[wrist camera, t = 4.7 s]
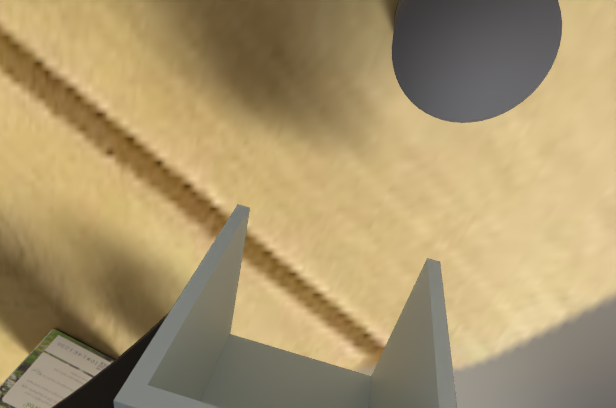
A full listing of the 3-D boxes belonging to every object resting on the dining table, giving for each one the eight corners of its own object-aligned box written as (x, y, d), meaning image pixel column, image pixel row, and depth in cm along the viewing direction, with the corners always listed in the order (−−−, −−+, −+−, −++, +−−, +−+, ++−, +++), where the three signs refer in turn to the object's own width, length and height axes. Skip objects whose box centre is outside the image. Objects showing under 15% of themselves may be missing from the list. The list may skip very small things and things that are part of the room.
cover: (219, 337, 15) (125, 540, 10) (237, 204, 12) (113, 400, 7) (378, 385, 15) (364, 619, 9) (440, 261, 11) (469, 511, 6)
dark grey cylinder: (380, 62, 16) (373, 101, 12) (417, -64, 13) (423, -65, 10) (487, 90, 15) (513, 138, 12) (542, -33, 13) (597, -22, 10)
